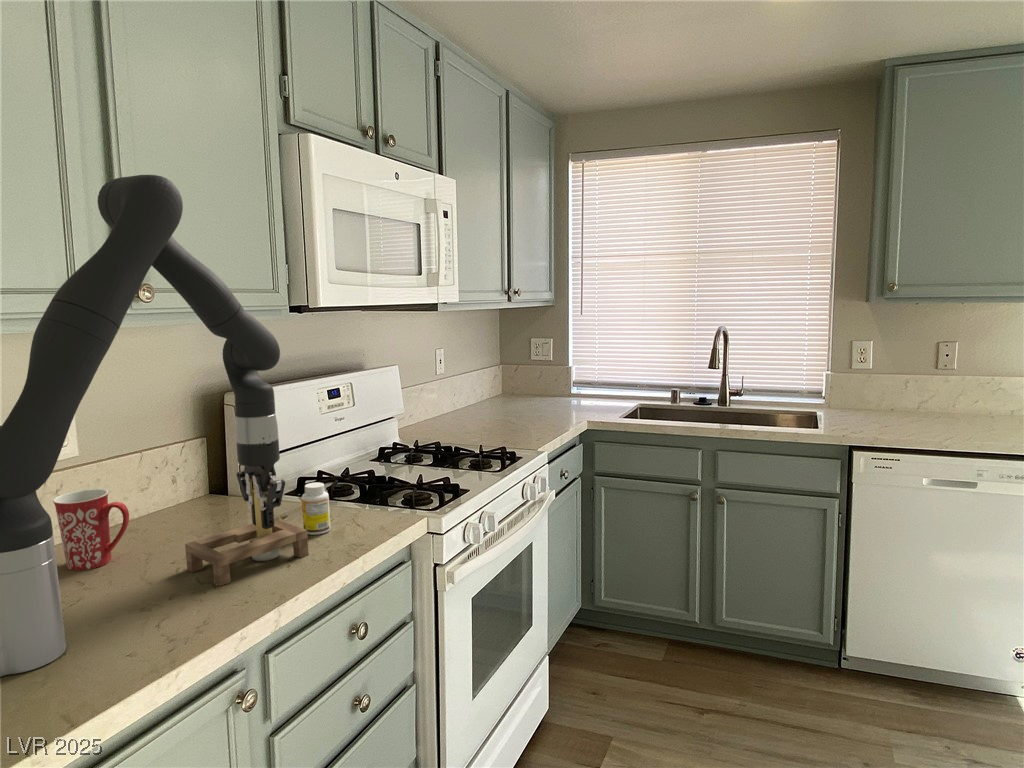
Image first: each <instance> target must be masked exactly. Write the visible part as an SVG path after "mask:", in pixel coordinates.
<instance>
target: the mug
mask: <svg viewBox="0 0 1024 768" xmlns="http://www.w3.org/2000/svg"><path fill="white" fill-rule="evenodd" d="M108 496H109V490H107V489H104V488H94V489H93V488H91V489H82V490H76V491H72V492H69V493H68V492H66V493H63V494H61V495H59V496H57V497H54V499H53V500H52V503H53V504H54V506H55V513H56V516H57V521H58V527H59V531H60V532H59V533H60V538H61V542H62V547H63V553H64V557H65V564H66V568H67V570H69V569H71V570H70V571H73V570H81V571H86V570H85V569H88V570H93V569H96V567H97V568H99V566H100V567H103V566H105V565H106V564H108V563H109V562H111V560H112V551H113V550H114V549H115V548H116V546H117V544H118V543H119V542H120V540H121V539H122V538H123V536H124V534H125V533H126V530H127V528H128V525H129V522H130V513H129V512H130V511H129V509H128V507H127V505H125V504H124V503H123V502H120V501H114V502H110V503H109V500H108V498H109V497H108ZM113 508H117V509H118V510H119V511H120V512H121V514H122V524H121V527H120V530H119V532H118V533H117V535H116V536H115V538H114V539H113V541H111V532H110V530H111V529H110V516H109V515H110V511H111V510H112V509H113ZM104 564H105V565H104ZM92 568H93V569H92Z"/></svg>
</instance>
